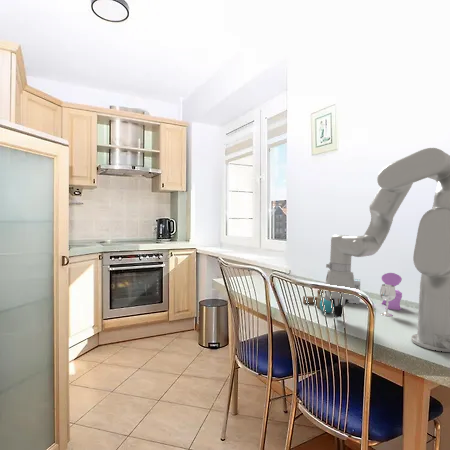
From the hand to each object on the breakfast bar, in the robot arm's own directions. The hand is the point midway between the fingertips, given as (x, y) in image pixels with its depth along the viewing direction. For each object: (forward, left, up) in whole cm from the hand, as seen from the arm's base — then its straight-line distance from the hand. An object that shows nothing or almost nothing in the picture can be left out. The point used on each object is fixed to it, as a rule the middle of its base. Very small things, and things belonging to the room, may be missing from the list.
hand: (337, 315), depth 126 cm
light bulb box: (+30, -14, -2) cm, 33 cm away
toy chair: (+23, -31, -2) cm, 39 cm away
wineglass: (+10, -23, -2) cm, 25 cm away
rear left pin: (+16, +3, -2) cm, 17 cm away
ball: (+9, +2, +2) cm, 9 cm away
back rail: (+23, 0, -2) cm, 23 cm away
